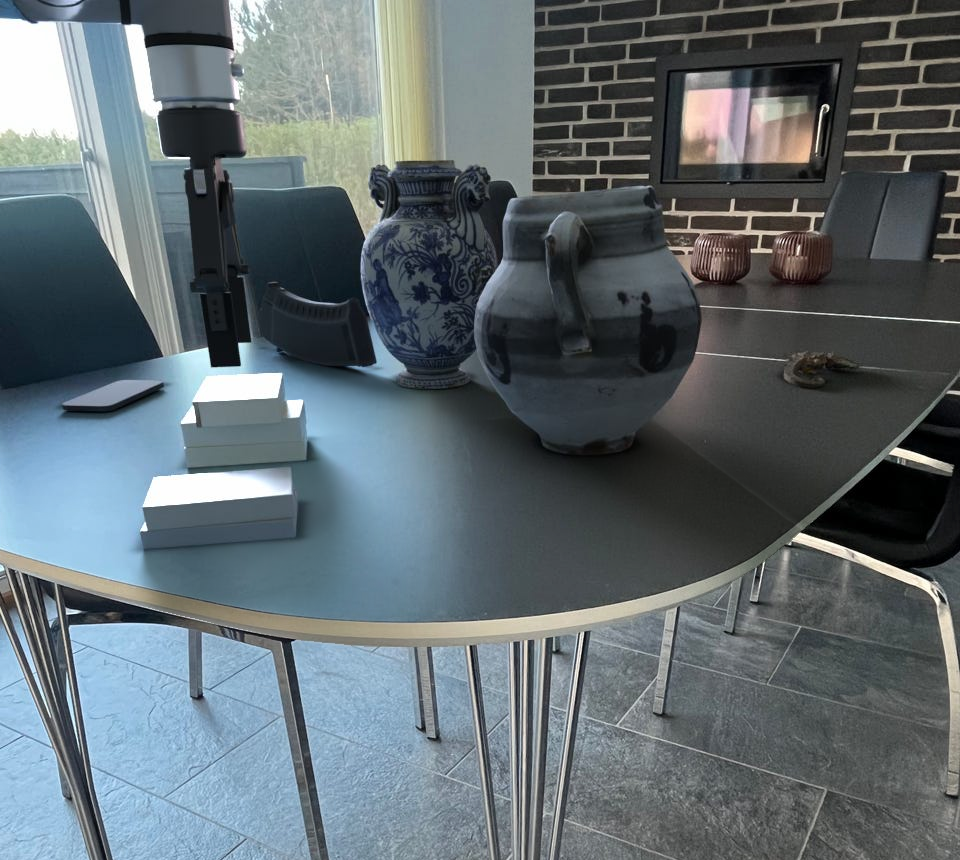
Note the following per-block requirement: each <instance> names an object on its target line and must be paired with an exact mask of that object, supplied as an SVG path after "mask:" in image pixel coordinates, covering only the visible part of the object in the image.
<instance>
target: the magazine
mask: <svg viewBox="0 0 960 860" xmlns="http://www.w3.org/2000/svg"><path fill="white" fill-rule="evenodd" d="M367 317H368V316H367V314H366V312H365V311H364V310H363V308H362V307H361V303H360V300H359V299H358V298H356V297H350V298H349V299H347V300H346V301H344V302H341V303H333V302H319V301H313V300H310V299H307V298H304V297H301V296H298V295H296V294H294V293H292V292H289V291H288V290H287V289H286V288H283V287H281V286H280V284H279V282H277V281H269V282H267V283H266V291H265V294H264V295H263V297H262V301H261V307H260V309H259V334H260V336H261V337H262V338H264V340H266V341H268V342H269V343H270V344H272V345H273V346H274V347H276V352H277V353H281V352H282V353H283V352H285V353H287V354H288V355H290V356H292V357H293V358H296V359H298V360H301V361H304V362H306V363H311V364H314V365H319V366H327V367H328V366H329V367H358V368H360V367H361V368H366V367H372V366H373V365H376V364H377V363H378V361H377V356H376V352H375V348H374V344H373V339H372V334H371V330H370V326H369V322H368V321H369V320H368V318H367Z"/></svg>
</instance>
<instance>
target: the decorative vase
mask: <svg viewBox="0 0 960 860" xmlns="http://www.w3.org/2000/svg"><path fill="white" fill-rule="evenodd" d="M455 163H456V162H455V160H454V159H446V160H445V159H444V160H396V161H395V162H394V167H393V169H390V168H389V167H388V165H386V164H376V165H375V166H373V167H371V168H370V172H369V174H368V176H367V177H368V182H367V185H368V189H369V190H370V194H369V196H370V198H371V199H373V200H374V203H375V205H377V207H379V208H380V209H381V212H380V216H379V218H378V222H377V224H376V225H374V227H372V228H371V230H370V231H369V232H368V234H367V236H366V238H365V240H364V241H363V245H362V249H361V254H360V255H361V256H360V281H361V288H362V293H363V298H364V302H365V305H366V308H367V312H368V313H369V317H370V320H371V322H372V325H373V327H374V329H375V332H376V334H377V335H378V338H379V339H380V341H381V342H382V344H383V346H384V348H386V350H387V351H388V353H389V354H390V355H391V356H392V357H393V358H395V359H396V360H398V362H399V363H401V364H403V366H404V369H402V370H401V371H400V372H399V373H397V374H396V376H395V384H396V385H398V386H400V387H403V388H409V389H417V390H418V389H419V390H443V389H453V388H457V387H459V388H460V387H461V386H465V385H467V384H468V383H470V381H471V380H470V374H469V373H468V372H467V371H465V370H463V369H462V368H460V366H461V364H462V363H464V362H466V360H467V359H469V358H470V357H471V356H472V355H473V354H474V353H475V352H476V350H477V348H476V343H475V339H474V320H475V313H476V307H477V303H478V301H479V298H480V296H481V294H482V292H483V290H484V288H485V286H486V284H487V282H488V281H489V280H490V278H491V277H492V275H493V274H494V272H495V271H496V270H497V268H498V267H499V265H498V258H497V252H496V248H495V245H494V241H493V239H492V238H491V236H490V234H489V233H488V231H487V229H486V228H485V226H484V223H483V220H482V218H481V215H480V213H479V210H481V209H482V208H483V206H484V204H485V203H488V202H489V201H490V200H491V196H490V194H489V192H490V191H491V180H492V176H491V175H490V174H489V172H488V169H487V168H486V167H485V166H481V165H479V164H476V163H475V164H474V165H473V164H469V165H468V166H467V168H465V170H464V171H462V170H461V169H460V168H457V167H456V164H455ZM382 202H383V203H382Z"/></svg>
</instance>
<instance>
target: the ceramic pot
mask: <svg viewBox="0 0 960 860" xmlns="http://www.w3.org/2000/svg"><path fill="white" fill-rule="evenodd" d="M663 211H664V210H663V205H662V204H661V202H660V200H659V197H658V196H657V192H656V190H655V187H654V186H652V185H647V186H645V185H636V186H623V187H617V188H606V189H597V190H596V189H595V190H587V191H585V190H584V191H574V192H566V193H558V194H557V193H555V194H554V193H553V194H552V193H550V194H540V195H529V196H528V195H527V196H519V197H518V196H517V197H512V198H510V199H509V201H508V203H507V206H506V211H505V214H504V217H503V219H502V244H503V245H502V249H503V252H502V259H501V262H500V264H499V265H498V268H497V270H496V271H495V272H494V274H493V275H492V277H491V278H490V280H489V281H488V282H487V284H486V286H485V288H484V290H483V292H482V294H481V296H480V298H479V301H478V303H477V307H476V313H475V320H474V339H475V343H476V348H477V349H476V350H477V352H476V353H477V356H478V359H479V362H480V364H481V366H482V368H483V370H484V372H485V374H486V376H487V378H488V380H489V382H490V383H491V385H492V386H493V388H494V389H495V391H496V392H497V394H498V395H499V396H500V397H501V399H502V400H503V401H504V403H505V404H506V405H507V407H508V409H509V410H510V412H511V413H512V414H513V415H515V416H516V417H517V418H518V419H519V420H520V421H521V422H523V423H524V424H525V425H527V426H528V427H529V428H531V429H532V430H533V431H534V432H536V433H537V434H538V435H539V437H540V440H541V441H540V442H541V445H542V447H544V448H546V449H547V450H550V451H551V452H555V453H560V454H564V455H574V456H598V455H607V454H614V453H619V452H623V451H625V450H627V449H629V448H630V447H632V446H633V442H634V439H635V436H636V433H637V431H638V430H639V429H640V428H642V427H643V426H644V425H645V424H646V423H647V422H648V421H649V420H651V419H652V417H654V416H655V415H656V414H657V413H658V412H659V411H660V410H662V409H663V407H664V406H665V405H666V404H667V402H669V401H670V400H671V398H672V397H673V395H674V394H675V392H676V391H677V389H678V387H679V386H680V384H681V382H682V381H683V380H684V377H685V376H686V374H687V372H688V371H689V369H690V367H691V365H692V364H693V362H694V359H695V356H696V353H697V349H698V345H699V339H700V334H701V327H702V321H703V318H702V317H703V315H702V309H701V303H700V302H701V301H700V298H699V295H698V293H697V290H696V288H695V285H694V282H693V280H692V279H691V276H690V275H689V273H688V272H687V270H686V269H685V267H684V266H683V265H682V263H681V262H680V261H679V259H678V258H677V256H676V255H675V254H674V253H673V252H672V250H671V249H670V247H669V245H668V241H667V236H666V230H665V229H666V228H665V223H664V222H665V221H664V212H663Z"/></svg>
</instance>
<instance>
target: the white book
mask: <svg viewBox="0 0 960 860" xmlns="http://www.w3.org/2000/svg"><path fill="white" fill-rule="evenodd" d="M285 399H286V390H285V382H284V375H283V373H282V372H278V373H276V372H275V373H257V374H237V375H235V374H233V375H217V376H216V375H215V376H214V375H213V376H206V378H205V380H203V383H202V384H201V386H200V388H199V390H198V391H197V393H196V395H195V397H194V398H193V400H192V402H191V403H192V407H193V409H194V414H195V420H196V426H197V427H212V426H230V425H248V424H265V423H280V422H281V417H282V411H283V405H284V401H286V400H285Z"/></svg>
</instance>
